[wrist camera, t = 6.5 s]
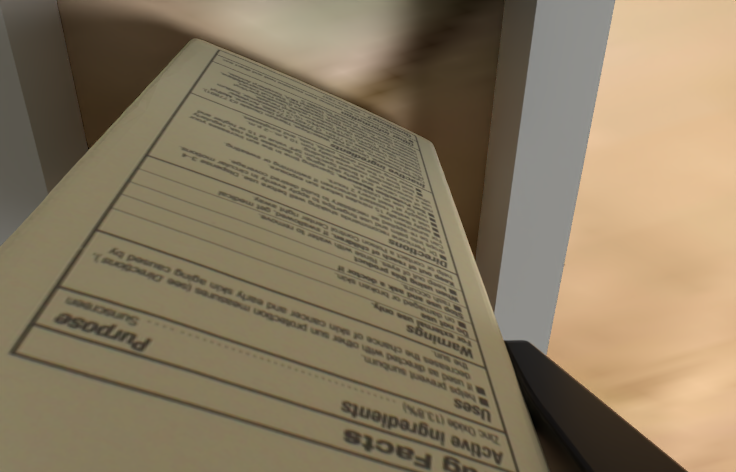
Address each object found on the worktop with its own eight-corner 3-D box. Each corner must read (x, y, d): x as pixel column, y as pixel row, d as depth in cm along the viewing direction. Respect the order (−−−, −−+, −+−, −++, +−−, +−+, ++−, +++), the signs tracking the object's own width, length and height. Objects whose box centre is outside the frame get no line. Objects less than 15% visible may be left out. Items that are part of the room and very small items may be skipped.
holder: (81, 360, 19) (47, 422, 17) (-53, -150, 13) (-134, -157, 10) (512, 353, 19) (535, 413, 17) (592, -138, 13) (642, -142, 11)
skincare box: (138, 191, 16) (-331, 847, 5) (193, 27, 14) (-369, 514, 3) (373, 283, 17) (399, 949, 6) (451, 146, 15) (674, 761, 5)
